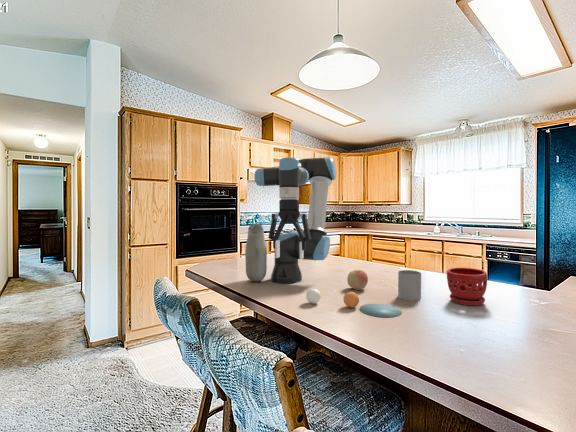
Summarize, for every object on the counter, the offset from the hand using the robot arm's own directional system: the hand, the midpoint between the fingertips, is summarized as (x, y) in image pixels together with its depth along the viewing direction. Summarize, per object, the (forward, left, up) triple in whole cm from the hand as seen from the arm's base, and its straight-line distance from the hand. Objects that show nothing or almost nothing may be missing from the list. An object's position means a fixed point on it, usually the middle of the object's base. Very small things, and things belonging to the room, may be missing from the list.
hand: (289, 258), depth 121 cm
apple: (0, +34, -17) cm, 38 cm away
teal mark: (+26, +21, -16) cm, 37 cm away
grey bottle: (-36, +2, -17) cm, 39 cm away
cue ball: (+7, +6, -14) cm, 17 cm away
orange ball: (+18, +15, -14) cm, 27 cm away
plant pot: (+35, +56, -17) cm, 68 cm away
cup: (+20, +43, -17) cm, 50 cm away
